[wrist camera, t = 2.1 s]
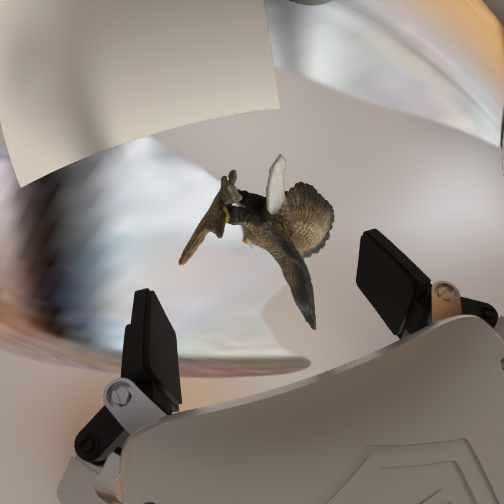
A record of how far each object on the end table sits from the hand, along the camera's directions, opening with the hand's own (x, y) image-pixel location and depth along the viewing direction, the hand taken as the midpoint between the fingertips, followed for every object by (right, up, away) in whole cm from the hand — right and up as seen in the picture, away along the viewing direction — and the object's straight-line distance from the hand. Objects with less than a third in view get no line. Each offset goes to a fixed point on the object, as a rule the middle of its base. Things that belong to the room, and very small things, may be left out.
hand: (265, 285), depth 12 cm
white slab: (-7, +13, -3) cm, 15 cm away
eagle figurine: (0, +4, +6) cm, 7 cm away
